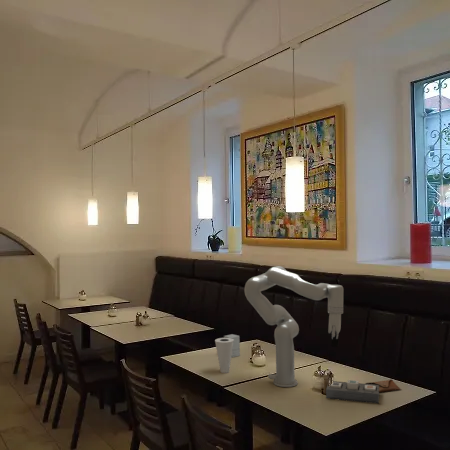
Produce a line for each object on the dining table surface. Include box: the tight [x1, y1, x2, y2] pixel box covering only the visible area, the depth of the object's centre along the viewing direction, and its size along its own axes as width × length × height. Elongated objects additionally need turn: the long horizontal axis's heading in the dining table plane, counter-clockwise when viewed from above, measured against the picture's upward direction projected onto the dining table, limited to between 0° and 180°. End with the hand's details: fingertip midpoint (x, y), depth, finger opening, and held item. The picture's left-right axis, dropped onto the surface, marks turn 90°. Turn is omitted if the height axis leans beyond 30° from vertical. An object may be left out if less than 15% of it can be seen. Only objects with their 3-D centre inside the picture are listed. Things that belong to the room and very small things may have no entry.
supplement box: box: [223, 333, 241, 359], centre depth 318 cm, size 7×7×13 cm
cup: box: [214, 337, 234, 374], centre depth 285 cm, size 11×11×18 cm
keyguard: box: [325, 380, 380, 404], centre depth 243 cm, size 24×13×4 cm, turn 72°
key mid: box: [346, 379, 360, 390], centre depth 243 cm, size 5×5×4 cm
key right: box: [364, 385, 376, 391], centre depth 240 cm, size 5×5×4 cm
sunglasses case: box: [364, 379, 402, 394], centre depth 252 cm, size 18×7×7 cm, turn 111°
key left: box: [330, 382, 342, 388], centre depth 245 cm, size 5×5×4 cm
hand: (335, 346), depth 251 cm, fingers closed
